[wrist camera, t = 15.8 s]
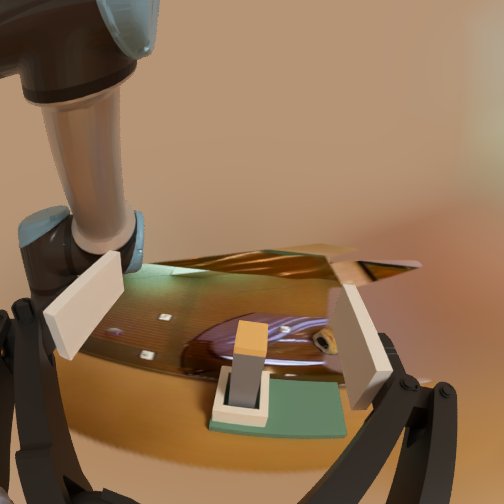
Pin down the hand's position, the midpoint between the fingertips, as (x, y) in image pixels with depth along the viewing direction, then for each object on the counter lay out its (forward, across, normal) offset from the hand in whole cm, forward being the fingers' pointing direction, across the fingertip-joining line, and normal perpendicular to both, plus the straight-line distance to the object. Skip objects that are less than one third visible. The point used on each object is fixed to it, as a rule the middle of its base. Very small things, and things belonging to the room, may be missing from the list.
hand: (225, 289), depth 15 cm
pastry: (+29, +20, -29) cm, 46 cm away
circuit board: (+11, +8, -28) cm, 32 cm away
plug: (+11, +2, -27) cm, 30 cm away
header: (+11, +2, -27) cm, 30 cm away
